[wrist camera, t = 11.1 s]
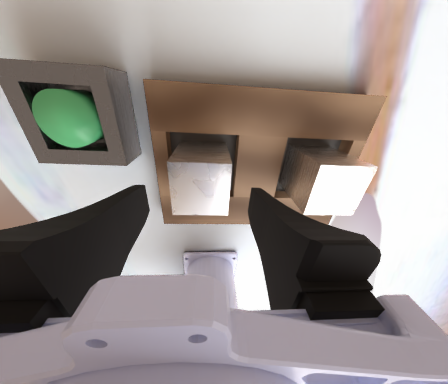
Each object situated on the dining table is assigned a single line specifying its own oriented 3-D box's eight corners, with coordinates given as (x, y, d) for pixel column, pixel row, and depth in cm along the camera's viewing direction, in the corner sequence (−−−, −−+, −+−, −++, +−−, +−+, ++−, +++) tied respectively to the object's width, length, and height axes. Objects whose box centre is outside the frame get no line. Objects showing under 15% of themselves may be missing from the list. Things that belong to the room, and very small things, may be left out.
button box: (141, 153, 18) (126, 165, 15) (69, 150, 17) (38, 163, 14) (126, 72, 14) (103, 66, 11) (36, 65, 14) (-14, 57, 11)
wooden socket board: (318, 213, 23) (328, 224, 21) (168, 212, 22) (164, 223, 20) (366, 96, 16) (386, 96, 15) (151, 80, 15) (142, 78, 13)
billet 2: (316, 184, 20) (352, 215, 15) (279, 183, 20) (303, 214, 15) (330, 146, 18) (378, 167, 13) (289, 144, 18) (321, 165, 12)
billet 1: (223, 183, 19) (227, 215, 14) (183, 182, 19) (172, 214, 14) (226, 143, 17) (232, 164, 12) (180, 141, 17) (166, 161, 12)
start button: (118, 140, 16) (101, 148, 14) (72, 138, 16) (47, 146, 13) (106, 91, 14) (84, 90, 12) (53, 87, 14) (20, 86, 11)
